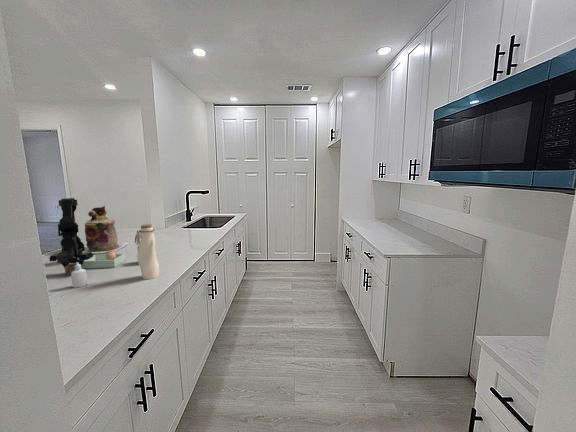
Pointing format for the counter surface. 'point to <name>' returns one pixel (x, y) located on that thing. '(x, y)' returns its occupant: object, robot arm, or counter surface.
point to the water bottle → (147, 252)
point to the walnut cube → (70, 268)
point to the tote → (103, 261)
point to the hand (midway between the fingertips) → (73, 271)
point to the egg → (110, 255)
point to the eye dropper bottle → (79, 276)
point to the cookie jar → (101, 233)
